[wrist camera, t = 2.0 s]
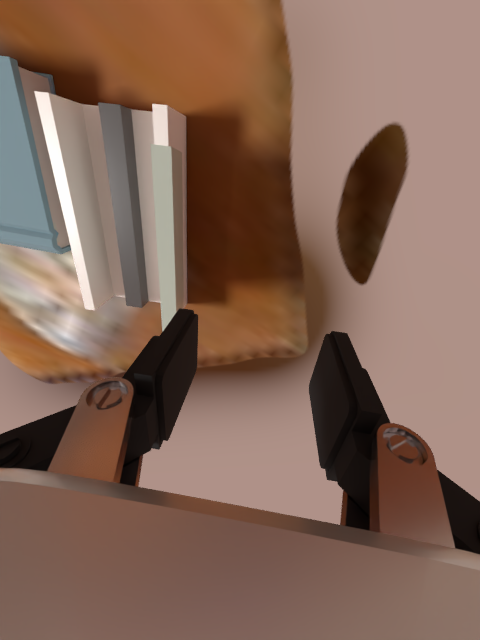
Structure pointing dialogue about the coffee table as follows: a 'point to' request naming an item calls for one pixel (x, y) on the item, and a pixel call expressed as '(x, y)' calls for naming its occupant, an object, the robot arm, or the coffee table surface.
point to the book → (27, 165)
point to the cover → (168, 227)
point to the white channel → (111, 192)
